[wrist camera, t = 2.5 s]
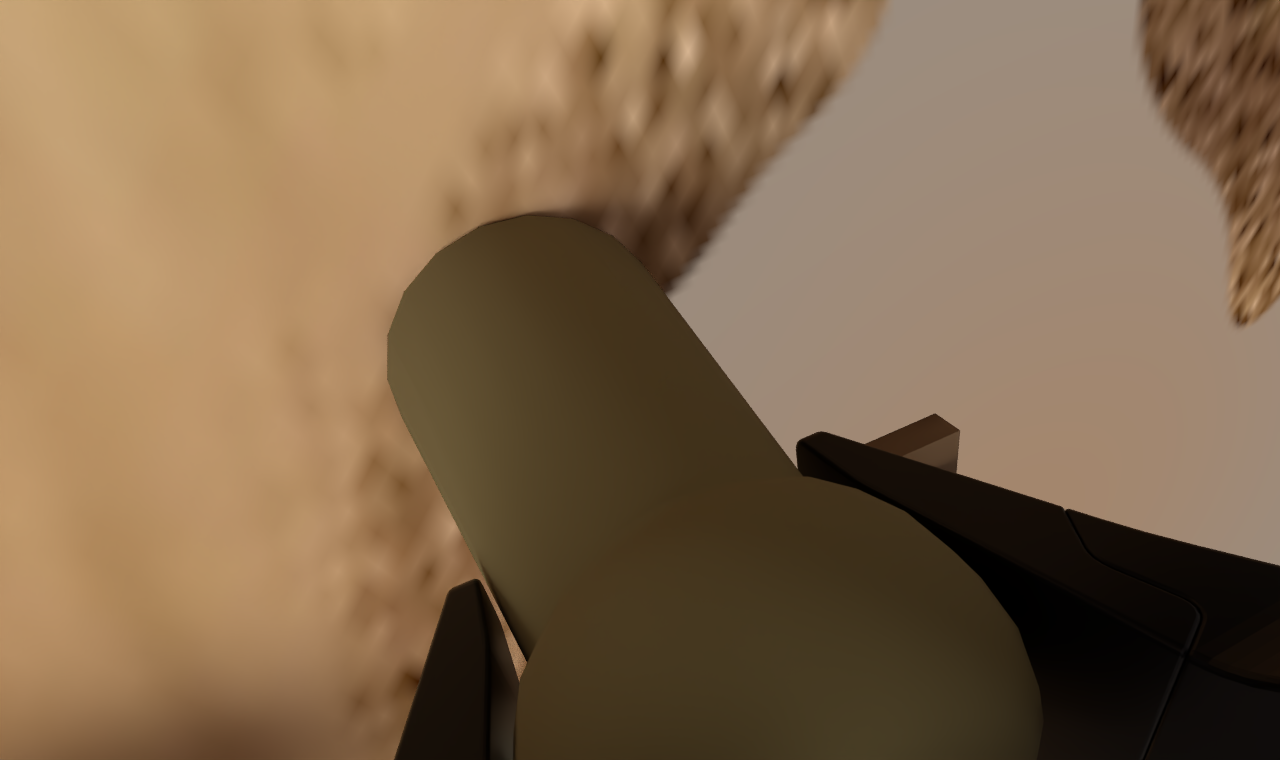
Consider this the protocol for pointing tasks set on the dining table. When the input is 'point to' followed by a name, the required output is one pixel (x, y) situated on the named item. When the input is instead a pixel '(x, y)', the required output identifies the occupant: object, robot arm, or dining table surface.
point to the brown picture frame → (924, 442)
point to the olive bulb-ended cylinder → (679, 533)
